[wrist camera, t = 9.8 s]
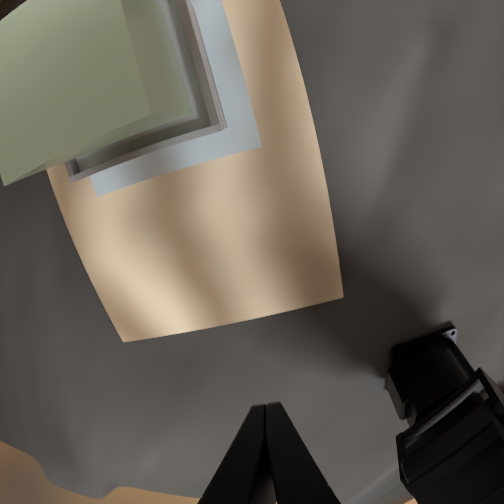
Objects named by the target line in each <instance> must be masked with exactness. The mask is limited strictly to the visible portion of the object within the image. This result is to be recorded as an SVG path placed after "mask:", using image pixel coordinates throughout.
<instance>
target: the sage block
mask: <svg viewBox="0 0 504 504" xmlns="http://www.w3.org/2000/svg"><path fill="white" fill-rule="evenodd" d="M192 114H193V112H192V109H191V105H190V102H189V99H188V95H187V92H186V88H185V85H184V82H183V78H182V75H181V71H180V68H179V64H178V61H177V57H176V54H175V50H174V47H173V43H172V40H171V36H170V33H169V29H168V26H167V22H166V19H165V15H164V12H163V10H162V8H161V7H160V6H159V5H158V4H157V3H156V2H155V0H27V1H26V2H24V3H23V4H21V5H20V6H19V7H17V8H16V9H15V10H13V11H12V12H11V13H10V14H8V15H7V16H6V17H5V18H3V19H2V20H1V21H0V175H1V178H2V181H3V184H4V186H7V185H9V184H11V183H13V182H16V181H18V180H20V179H23V178H25V177H28V176H30V175H33V174H35V173H38V172H40V171H43V170H45V169H48V168H51V167H53V166H56V165H59V164H61V163H64V162H67V161H70V160H73V159H75V158H78V157H81V156H84V155H87V154H90V153H92V152H94V151H97V150H99V149H101V148H104V147H106V146H108V145H111V144H113V143H115V142H118V141H120V140H123V139H125V138H128V137H130V136H133V135H135V134H138V133H140V132H143V131H146V130H148V129H151V128H154V127H157V126H159V125H162V124H165V123H168V122H171V121H174V120H177V119H180V118H183V117H186V116H189V115H192Z"/></svg>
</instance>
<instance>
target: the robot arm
mask: <svg viewBox="0 0 504 504" xmlns="http://www.w3.org/2000/svg"><path fill="white" fill-rule="evenodd" d="M456 337H457V329H456V328H455V326H451V327H448V328H446V329H443V330H440V331H438V332H435V333H432V334H429V335H427V336H424V337H421V338H418V339H415V340H412V341H409V342H406V343H403V344H400V345H397V346H395V347H393V348H392V350H391V360H390V368H389V369H388V371H387V390H388V392H389V395H390V397H391V399H392V402H393V404H394V407H395V409H396V411H397V414H398V416H399V419H401V420H405V419H407V422H408V424H409V427H410V428H408V429H407V430H405V431H404V432H403V433H402V432H401V433H399V434H398V435H397V436H396V444H397V454H398V462H399V472H400V480H401V482H402V483H403V485H404V486H405V488H406V489H407V490H408V492H409V493H410V494H411V495H412V496H414V498H415V499H416V501H417V503H418V504H504V394H503V393H502V391H501V390H500V388H499V387H498V386H497V384H496V383H495V382H494V381H493V380H492V379H491V378H490V377H489V376H488V375H487V374H486V373H485V372H484V371H483V370H482V369H481V368H480V367H479V368H478V369H477V370H476V371H474V369H473V368H472V366H471V365H470V364H469V362H468V361H467V359H466V358H465V356H464V355H463V354H462V352H461V351H460V349H459V348H458V347H457V345H456V344H455V342H456ZM202 497H203V498H200V500H199V502H198V504H276V500H277V504H341V503H340V502H339V500H338V499H337V497H336V496H335V494H334V493H333V491H332V489H331V488H330V486H328V483H327V481H326V480H325V478H324V476H323V475H322V473H321V471H320V470H319V468H318V466H317V465H316V463H315V461H314V460H313V458H312V456H311V455H310V453H309V451H308V449H307V448H306V446H305V444H304V443H303V441H302V439H301V437H300V436H299V434H298V432H297V430H296V429H295V427H294V425H293V423H292V422H291V420H290V418H289V416H288V415H287V413H286V411H285V409H284V408H283V406H282V404H281V403H280V402H272V403H268V404H267V405H266V404H259V405H253V406H252V407H251V408H250V410H249V412H248V414H247V416H246V418H245V420H244V421H243V423H242V425H241V427H240V429H239V431H238V433H237V435H236V437H235V438H234V440H233V442H232V444H231V446H230V448H229V450H228V451H227V453H226V455H225V457H224V459H223V460H222V462H221V464H220V466H219V468H218V469H217V471H216V473H215V475H214V476H213V478H212V480H211V482H210V483H209V485H208V487H207V489H206V490H205V492H204V494H203V495H202Z"/></svg>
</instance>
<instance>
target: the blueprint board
mask: <svg viewBox="0 0 504 504" xmlns="http://www.w3.org/2000/svg"><path fill="white" fill-rule="evenodd" d="M155 2H156V3H157V4H158V5H159V6H160V7H161V8H162V10H163V12H164V15H165V19H166V22H167V26H168V29H169V33H170V36H171V40H172V43H173V47H174V50H175V54H176V57H177V61H178V64H179V68H180V71H181V75H182V78H183V82H184V85H185V88H186V92H187V95H188V99H189V102H190V105H191V109H192V112H193V114H192V115H189V116H186V117H183V118H180V119H177V120H174V121H171V122H168V123H165V124H162V125H159V126H157V127H154V128H151V129H148V130H146V131H143V132H140V133H138V134H135V135H133V136H130V137H128V138H125V139H123V140H120V141H118V142H115V143H113V144H111V145H108V146H106V147H104V148H101V149H99V150H97V151H94V152H92V153H90V154H87V155H84V156H81V157H78V158H75V159H73V160H70V161H67V162H64V163H61V164H59V165H56V166H53V167H51V168H48V169H46V170H47V173H48V176H49V179H50V182H51V185H52V188H53V191H54V193H55V196H56V199H57V202H58V204H59V207H60V210H61V212H62V215H63V217H64V220H65V223H66V225H67V228H68V230H69V232H70V235H71V237H72V240H73V242H74V244H75V247H76V249H77V251H78V254H79V256H80V258H81V260H82V263H83V265H84V267H85V269H86V271H87V273H88V275H89V278H90V280H91V282H92V284H93V286H94V288H95V290H96V292H97V294H98V296H99V298H100V300H101V302H102V304H103V306H104V308H105V310H106V311H107V313H108V315H109V317H110V319H111V321H112V323H113V325H114V326H115V328H116V330H117V332H118V334H119V335H120V337H121V339H122V341H123V342H129V341H135V340H142V339H148V338H154V337H160V336H166V335H172V334H178V333H184V332H189V331H195V330H200V329H205V328H211V327H216V326H221V325H226V324H231V323H236V322H241V321H245V320H250V319H255V318H259V317H264V316H269V315H273V314H278V313H282V312H286V311H291V310H295V309H299V308H303V307H308V306H312V305H316V304H320V303H324V302H328V301H332V300H336V299H340V298H344V296H343V288H342V280H341V272H340V265H339V258H338V251H337V244H336V238H335V231H334V225H333V219H332V213H331V207H330V202H329V196H328V190H327V185H326V180H325V175H324V169H323V164H322V160H321V155H320V150H319V145H318V141H317V136H316V131H315V127H314V123H313V118H312V114H311V110H310V106H309V101H308V97H307V93H306V89H305V85H304V82H303V78H302V74H301V70H300V66H299V63H298V59H297V56H296V52H295V48H294V45H293V42H292V38H291V35H290V31H289V28H288V25H287V21H286V18H285V15H284V12H283V9H282V6H281V3H280V0H155Z"/></svg>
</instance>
